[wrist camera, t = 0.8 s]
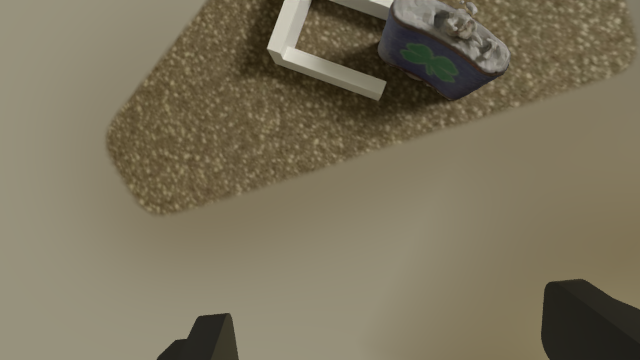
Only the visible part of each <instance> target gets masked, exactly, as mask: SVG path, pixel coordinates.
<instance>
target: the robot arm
mask: <svg viewBox="0 0 640 360" xmlns="http://www.w3.org/2000/svg"><path fill="white" fill-rule="evenodd" d="M541 339H542V344H543V347H544V350H545V352H546V354H547V356H548V358H549V359H550V360H640V310H639V309H637V308H635V307H633V306H630V305H628V304H625V303H623V302H621V301H618V300H616V299H614V298H612V297H610V296H609V295H607V294H606V293H604V292H603V291H601V290H600V289H598V288H597V287H595V286H593V285H592V284H590V283H589V282H587V281H586V280H583V279H574V280H565V281H554V282H549V283H548V284H547V285H546V287H545V291H544V303H543V316H542V331H541ZM157 360H239V359H238V352H237V346H236V340H235V333H234V327H233V321H232V317H231V315H230V314H229V313H225V314H214V315H204V316H199V317H198V318H197V319H196V321H195V323H194V326H193V327H192V330H191V332H190V334H189V336H188V338H187V339H181V340H175V341H174V342H173V343H172V344H171V345H170V346H169V347H168V348H167V349H166V350H165V351H164V352H163V353H162V354H161V355H159V357H158V358H157Z"/></svg>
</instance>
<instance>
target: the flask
mask: <svg viewBox="0 0 640 360" xmlns="http://www.w3.org/2000/svg"><path fill="white" fill-rule="evenodd" d="M463 3H464V1H460V2H459V4H463ZM466 7H467V8H468V9H469V10H471V11H472V14H473V15H474V14H475V13H476V12H477V8H476V6H475V5H474V4H473V3H472V2H468V3H466ZM378 54H379V57H380V58H381V59H382V60H383V61H384V62H386V63H387V64H388V65H389V66H391V67H393V66H395V67H397V68H398V69H400V70H402V71H403V72H405V74H406V75H408V76H409V77H410V78H413V79H414V80H419V81H420V80H421V81H423V82H425V83H426V86H429V87H433V88H434V89H436V91H437V93H440V94H441V95H443V96H444V97H446V98H447V99H448V100H457V99H461V100H462V97H464V96H466V95H468V94H470V93H471V92H473V91H474V90H477V89H479V88H480V87H481V86H483V85H485V84H487V83H488V82H490V81H492V80H494V79H495V78H497V77H499V76H501V75H503V74H504V73H505V71H506V70H507V68H508V66H509V62H510V58H511V52H510V51H509V49H508V47H507V46H506V45H505V44H504V43H503V42H502V41H500V40H499V39H498V38H497V37H496V36H495V35H493V34H492V33H491V32H490V31H489V30H488V29H486V28H485V27H484V26H483V25H481V24H480V23H479V22H477V21H476V20H474V19H473V18H471V15H470V14H469V13H466V10H465V9H455V8H453V7H452V6H449V5H447V4H445V3H443V2H440V1H437V0H394V1H393V2H392V4H391V6H390V9H389V15H388V19H387V21H386V26H385V27H384V30H383V33H382V37H381V40H380V43H379V45H378Z"/></svg>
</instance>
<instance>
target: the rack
mask: <svg viewBox="0 0 640 360" xmlns="http://www.w3.org/2000/svg"><path fill="white" fill-rule="evenodd" d="M329 1H332V2H335V3H338V4H341V5H344V6H347V7H349V8H352V9H355V10H358V11H361V12H364V13H366V14H369V15H372V16H375V17H378V18H381V19H384V20H386V21H387V19H388V15H389V9H390V6H391V4H392V2H393V1H394V0H329ZM311 2H312V0H284V3H283V6H282V9H281V11H280V14H279V17H278V20H277V22H276V25H275V28H274V31H273V33H272V36H271V39H270V41H269V44H268V47H267V50H268V51H269V53H270V55H271V57H272V59H273V60H274V62H275V64H278V65H281V66H283V67H286V68H289V69H292V70H294V71H297V72H300V73H303V74H305V75H308V76H311V77H314V78H316V79H319V80H322V81H325V82H328V83H330V84H333V85H336V86H339V87H341V88H344V89H347V90H350V91H352V92H355V93H358V94H361V95H363V96H366V97H369V98H372V99H374V100H377V101H379V99H380V97H381V95H382V93H383V90H384V87H385V85H386V81H383V80H381V79H378V78H375V77H372V76H369V75H367V74H364V73H361V72H358V71H356V70H353V69H350V68H347V67H344V66H342V65H339V64H336V63H333V62H330V61H328V60H325V59H322V58H319V57H317V56H314V55H311V54H308V53H305V52H303V51H300V50H297V49H294V48H295V45H296V43H297V40H298V37H299V34H300V32H301V29H302V26H303V24H304V21H305V18H306V15H307V13H308V10H309V7H310V5H311Z"/></svg>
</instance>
